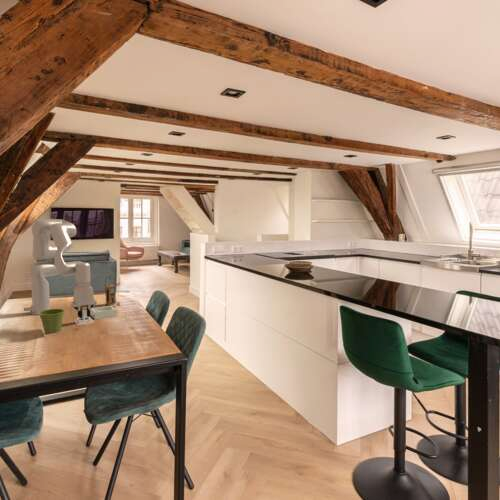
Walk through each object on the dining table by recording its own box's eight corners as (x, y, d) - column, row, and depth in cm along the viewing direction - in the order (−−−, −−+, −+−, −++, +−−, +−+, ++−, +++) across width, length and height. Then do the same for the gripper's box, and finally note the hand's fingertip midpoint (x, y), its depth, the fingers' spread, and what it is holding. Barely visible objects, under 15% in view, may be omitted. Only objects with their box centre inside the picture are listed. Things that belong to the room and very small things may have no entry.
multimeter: (116, 307, 240) (115, 277, 238) (103, 306, 242) (102, 277, 240) (128, 302, 254) (127, 274, 252) (115, 302, 256) (114, 274, 254)
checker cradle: (77, 326, 197) (77, 322, 197) (74, 322, 204) (74, 318, 204) (94, 323, 202) (94, 319, 202) (91, 320, 210) (91, 316, 210)
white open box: (95, 321, 208) (94, 312, 208) (90, 316, 218) (90, 308, 217) (116, 317, 215) (116, 309, 215) (111, 313, 225) (110, 305, 224)
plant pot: (41, 330, 189) (40, 309, 188) (66, 328, 194) (66, 308, 193) (37, 337, 178) (36, 315, 177) (64, 335, 182) (63, 313, 182)
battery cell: (81, 322, 201) (80, 305, 200) (80, 321, 204) (79, 303, 203) (88, 321, 203) (88, 304, 202) (87, 320, 206) (86, 303, 205)
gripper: (67, 287, 194) (69, 320, 195) (100, 284, 203) (101, 316, 205) (65, 285, 200) (66, 317, 201) (97, 282, 209) (98, 313, 211)
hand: (84, 316), depth 203 cm, fingers closed on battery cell, 3 cm apart
